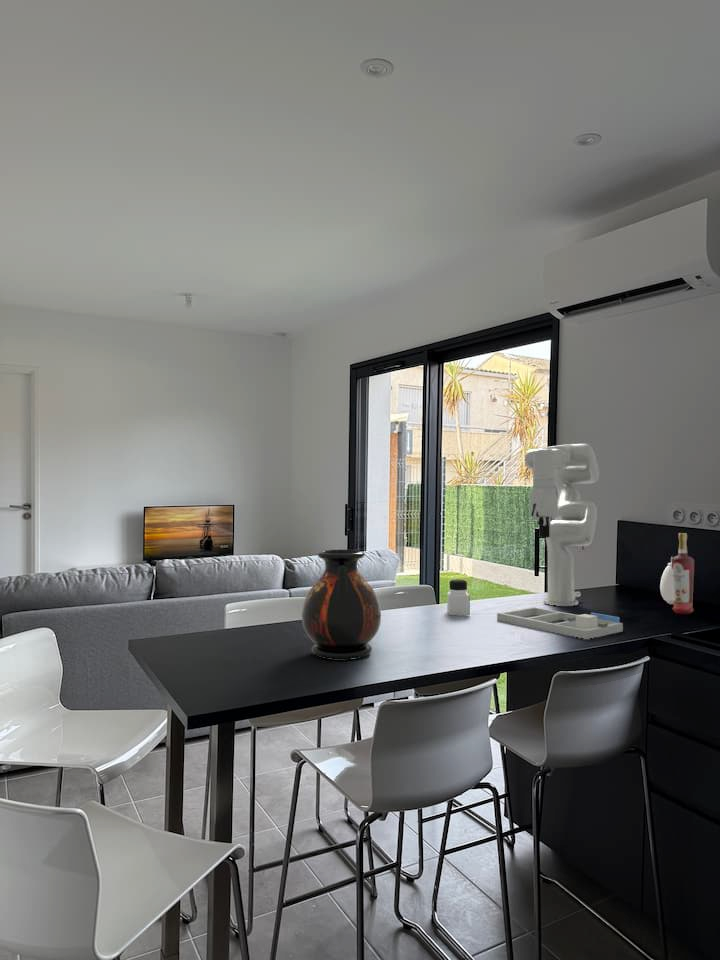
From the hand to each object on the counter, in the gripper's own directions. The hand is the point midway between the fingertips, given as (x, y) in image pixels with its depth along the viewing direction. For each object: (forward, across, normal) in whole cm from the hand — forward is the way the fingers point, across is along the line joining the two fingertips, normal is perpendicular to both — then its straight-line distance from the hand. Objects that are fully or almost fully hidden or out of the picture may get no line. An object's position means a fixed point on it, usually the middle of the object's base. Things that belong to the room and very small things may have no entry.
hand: (544, 537), depth 244 cm
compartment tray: (+27, +11, +14) cm, 32 cm away
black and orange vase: (+27, +87, +1) cm, 91 cm away
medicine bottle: (+27, +22, -20) cm, 40 cm away
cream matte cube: (+27, +11, +25) cm, 39 cm away
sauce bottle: (+27, -54, +16) cm, 63 cm away
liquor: (+27, -40, +28) cm, 56 cm away
